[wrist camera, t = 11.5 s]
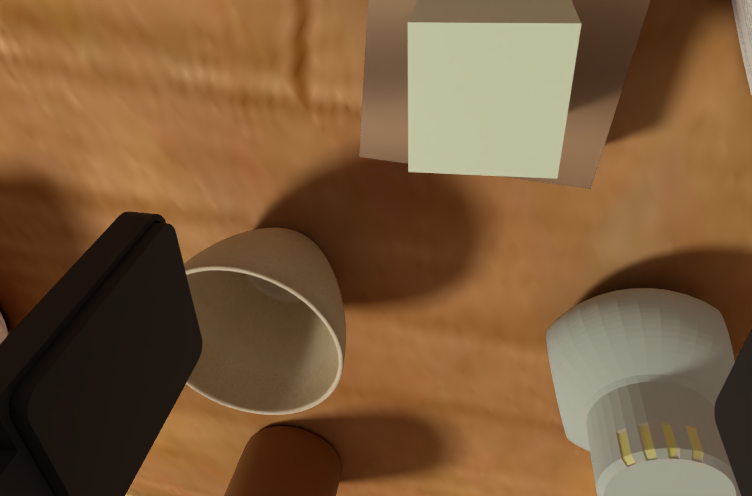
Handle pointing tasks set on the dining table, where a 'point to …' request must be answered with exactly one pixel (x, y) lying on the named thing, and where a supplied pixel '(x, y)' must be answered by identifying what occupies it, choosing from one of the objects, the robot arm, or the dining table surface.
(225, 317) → the flower pot
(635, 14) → the brown flat block
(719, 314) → the air freshener
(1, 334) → the photo printer
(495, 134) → the sage cube
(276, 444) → the mug
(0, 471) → the robot arm
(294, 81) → the dining table surface
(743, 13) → the skincare box
